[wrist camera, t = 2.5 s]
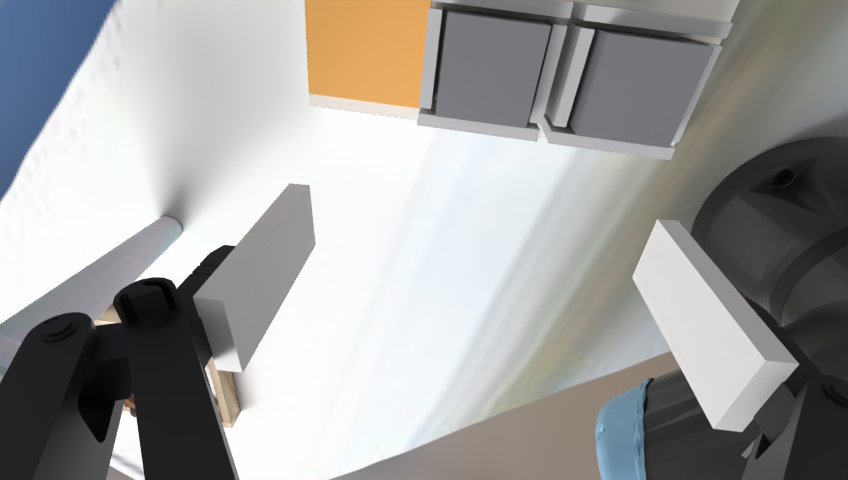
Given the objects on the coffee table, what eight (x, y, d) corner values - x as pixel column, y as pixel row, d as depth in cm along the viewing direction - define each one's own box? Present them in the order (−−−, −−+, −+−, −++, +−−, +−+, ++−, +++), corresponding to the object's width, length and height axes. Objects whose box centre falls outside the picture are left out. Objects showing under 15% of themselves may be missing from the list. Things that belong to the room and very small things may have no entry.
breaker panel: (745, -51, 26) (810, -58, 21) (659, 146, 33) (692, 176, 28) (310, -105, 27) (273, -124, 22) (317, 99, 34) (290, 120, 29)
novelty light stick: (104, 214, 42) (-258, 445, 21) (155, 163, 39) (-225, 383, 18) (183, 279, 46) (-58, 529, 25) (237, 238, 42) (5, 493, 21)
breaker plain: (686, 39, 25) (714, 47, 22) (649, 130, 29) (669, 148, 26) (593, 27, 26) (608, 33, 23) (565, 119, 29) (576, 135, 26)
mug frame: (219, 321, 49) (208, 336, 47) (240, 412, 59) (231, 428, 57) (91, 302, 50) (74, 316, 48) (132, 394, 60) (120, 410, 57)
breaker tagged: (542, 20, 26) (551, 26, 23) (520, 113, 29) (525, 128, 26) (450, 8, 26) (447, 12, 23) (438, 102, 29) (435, 116, 26)
